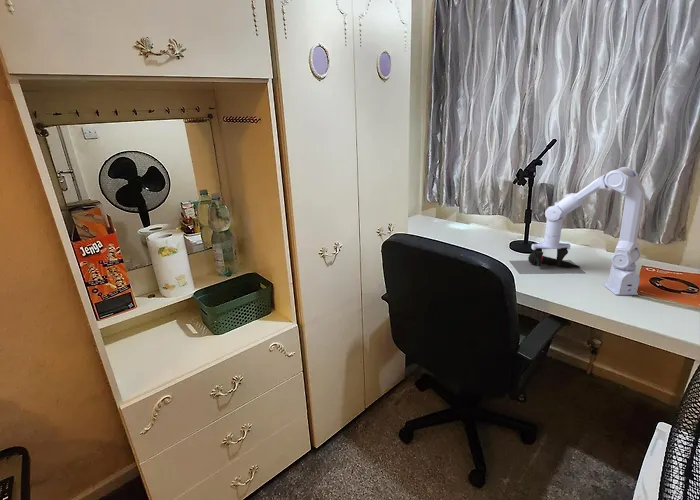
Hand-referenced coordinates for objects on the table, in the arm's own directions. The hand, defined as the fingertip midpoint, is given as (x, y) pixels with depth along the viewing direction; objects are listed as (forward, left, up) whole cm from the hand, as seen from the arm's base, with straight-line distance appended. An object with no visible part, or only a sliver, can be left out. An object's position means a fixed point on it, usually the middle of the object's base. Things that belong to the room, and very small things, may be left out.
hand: (548, 265), depth 160 cm
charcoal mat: (+2, 0, -2) cm, 3 cm away
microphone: (+2, -3, -2) cm, 4 cm away
